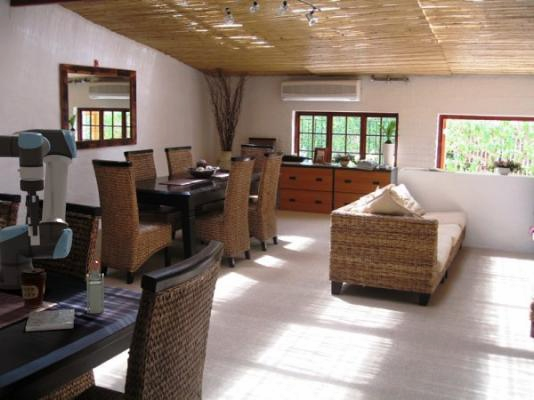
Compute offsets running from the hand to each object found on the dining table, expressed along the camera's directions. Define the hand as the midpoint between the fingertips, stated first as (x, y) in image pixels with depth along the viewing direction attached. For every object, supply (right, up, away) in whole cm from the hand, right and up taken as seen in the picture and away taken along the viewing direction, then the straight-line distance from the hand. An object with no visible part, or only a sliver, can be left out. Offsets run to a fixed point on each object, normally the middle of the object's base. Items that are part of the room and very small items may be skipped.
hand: (33, 240), depth 199 cm
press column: (+20, -25, +3) cm, 32 cm away
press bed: (+9, -26, -9) cm, 29 cm away
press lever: (+23, -12, -5) cm, 26 cm away
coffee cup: (-3, -24, +6) cm, 25 cm away
